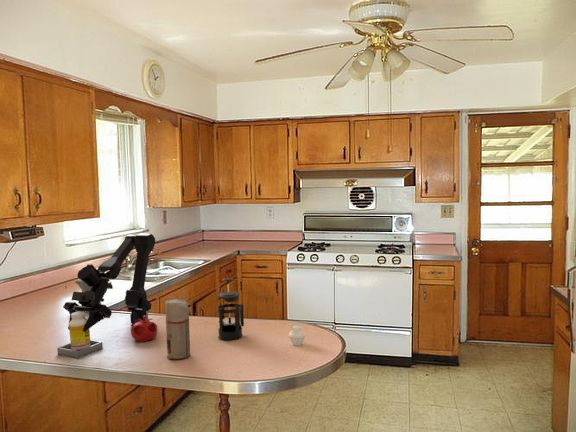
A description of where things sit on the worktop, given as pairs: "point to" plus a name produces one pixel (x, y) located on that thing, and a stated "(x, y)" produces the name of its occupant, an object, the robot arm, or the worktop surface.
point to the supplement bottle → (79, 331)
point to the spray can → (177, 329)
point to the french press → (232, 324)
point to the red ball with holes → (144, 330)
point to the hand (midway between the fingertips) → (76, 330)
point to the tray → (77, 354)
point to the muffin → (297, 335)
